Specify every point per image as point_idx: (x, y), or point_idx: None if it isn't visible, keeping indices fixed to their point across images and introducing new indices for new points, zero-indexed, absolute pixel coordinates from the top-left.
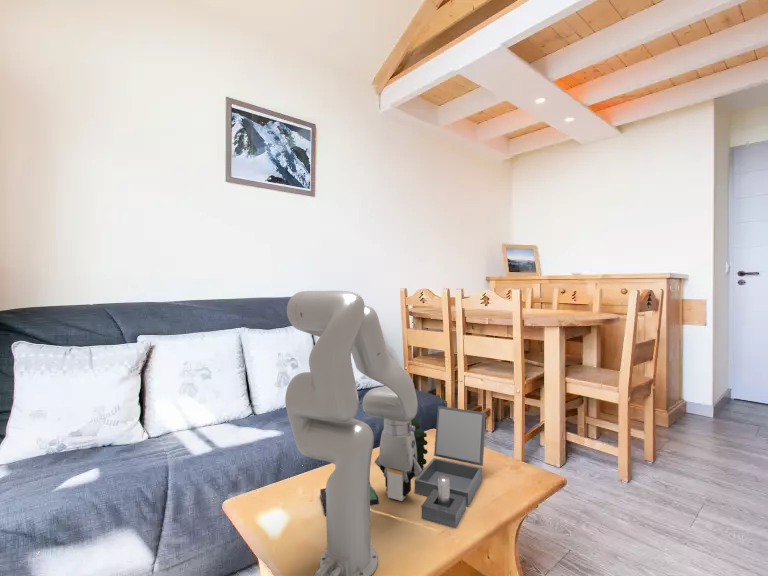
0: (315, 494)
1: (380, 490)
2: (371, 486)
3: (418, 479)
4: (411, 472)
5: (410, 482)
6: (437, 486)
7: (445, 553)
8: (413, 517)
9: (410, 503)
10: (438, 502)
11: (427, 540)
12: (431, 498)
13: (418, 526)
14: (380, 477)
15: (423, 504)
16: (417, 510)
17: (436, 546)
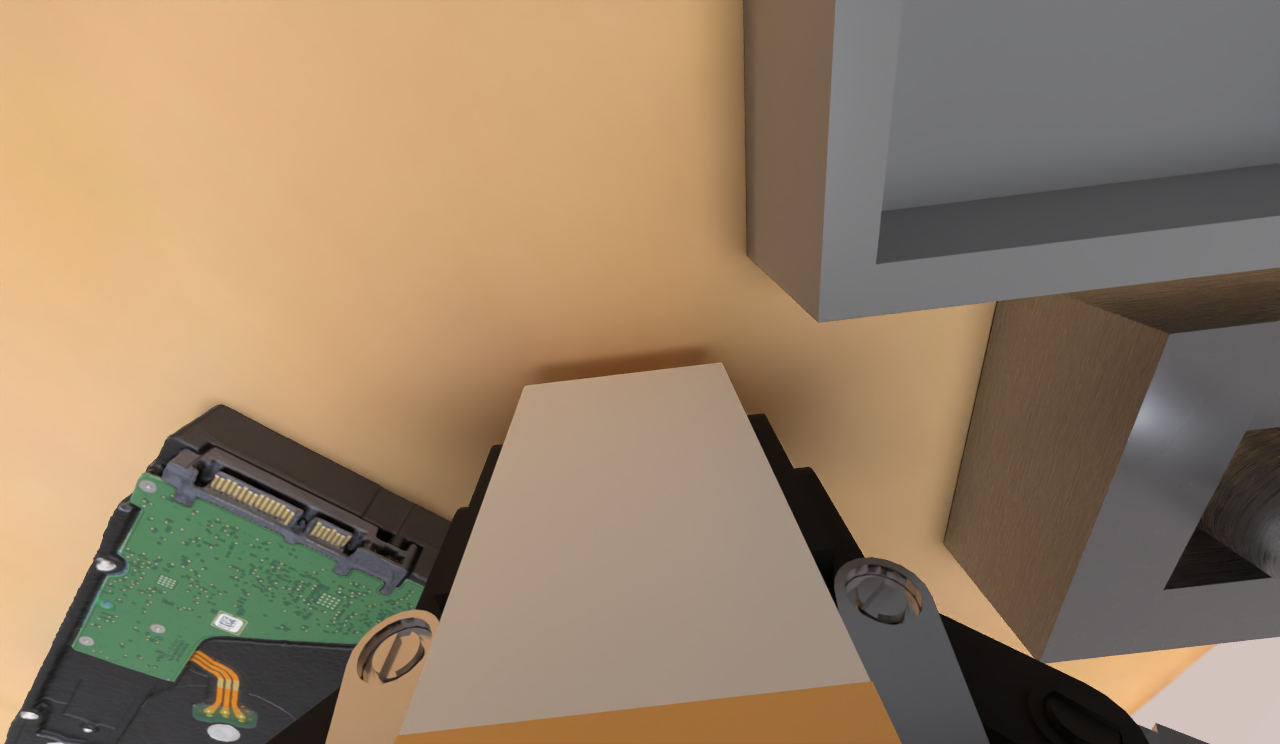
0: (7, 692)
1: (349, 377)
2: (278, 508)
3: (882, 264)
4: (994, 741)
5: (853, 549)
6: (1257, 263)
7: (1138, 672)
8: (867, 538)
9: (766, 403)
10: (1225, 544)
11: (1021, 650)
12: (1141, 534)
13: (934, 591)
14: (37, 92)
15: (1057, 644)
16: (868, 455)
17: (1082, 659)
